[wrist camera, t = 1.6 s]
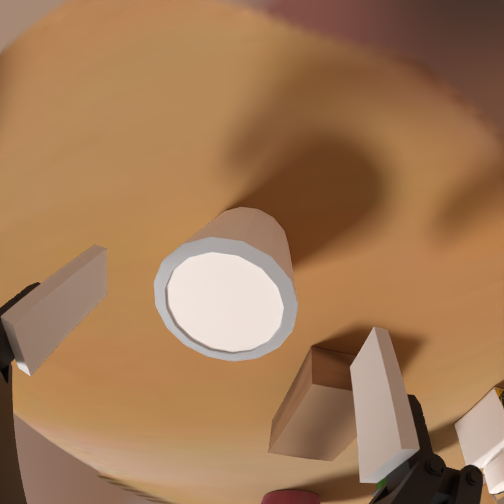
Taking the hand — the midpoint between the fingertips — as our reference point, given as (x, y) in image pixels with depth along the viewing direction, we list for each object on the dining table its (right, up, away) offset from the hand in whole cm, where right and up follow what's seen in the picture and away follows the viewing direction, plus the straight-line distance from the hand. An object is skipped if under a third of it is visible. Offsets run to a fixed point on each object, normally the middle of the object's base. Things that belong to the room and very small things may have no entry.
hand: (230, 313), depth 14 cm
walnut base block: (+7, -10, +11) cm, 17 cm away
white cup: (+1, +3, +7) cm, 7 cm away
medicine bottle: (+30, -16, +11) cm, 35 cm away
